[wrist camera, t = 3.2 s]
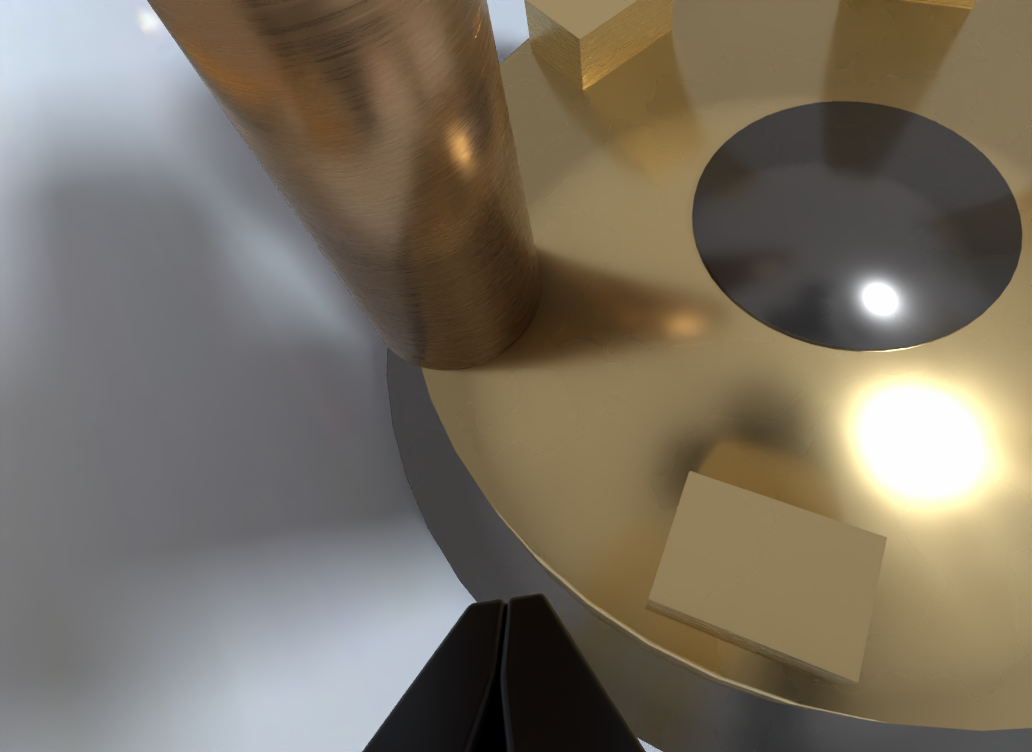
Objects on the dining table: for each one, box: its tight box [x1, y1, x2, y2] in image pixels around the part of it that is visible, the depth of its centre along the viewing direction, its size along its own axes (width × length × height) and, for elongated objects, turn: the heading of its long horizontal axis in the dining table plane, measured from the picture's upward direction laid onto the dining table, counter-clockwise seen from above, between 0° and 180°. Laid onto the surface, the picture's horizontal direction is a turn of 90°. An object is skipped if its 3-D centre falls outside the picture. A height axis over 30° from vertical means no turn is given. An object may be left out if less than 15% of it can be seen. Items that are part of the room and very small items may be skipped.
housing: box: [387, 347, 1032, 752], centre depth 17 cm, size 21×24×2 cm
